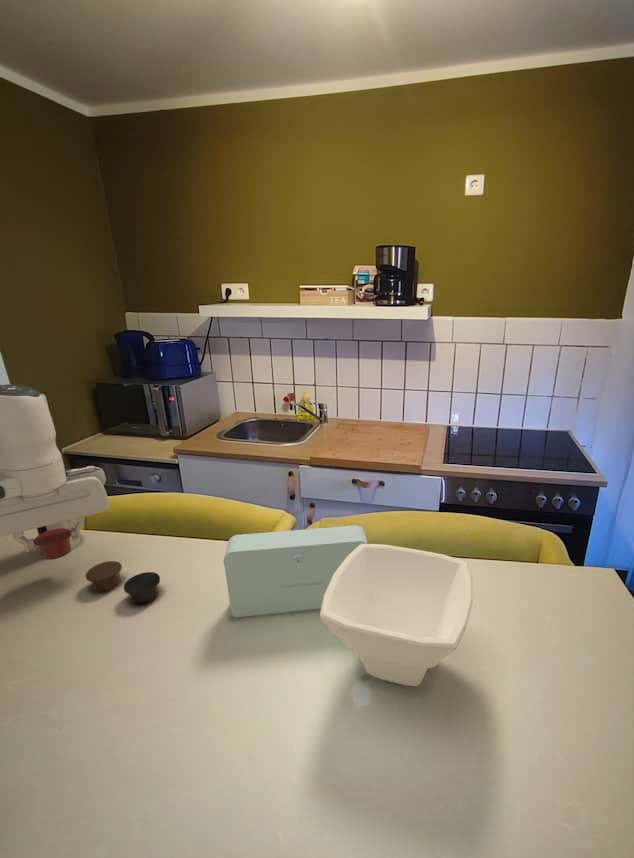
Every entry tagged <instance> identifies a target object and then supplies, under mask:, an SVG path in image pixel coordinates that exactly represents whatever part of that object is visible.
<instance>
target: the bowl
mask: <svg viewBox="0 0 634 858" xmlns="http://www.w3.org/2000/svg"><path fill="white" fill-rule="evenodd" d="M473 595H474V593H473V577H472V574H471V569H470V567H469V564H468V562H467V561H465V560H462V559H459V558H456V557H453V556H449V555H447V554H443V553H437V552H432V551H426V550H421V549H417V548H416V549H415V548H410V547H409V548H408V547H402V546H396V545H390V544H384V543H383V544H382V543H381V544H380V543H377V544H376V543H368V544H360V545H359V546H358V547H357V548H356V549H355V550H354V551H352V552H351V553H350V554H349V555H348V556H347V557H346V558H345V560H344V561H343V562H342V564H341V565H340V566H339V568H338V569H337V570H336V572H335V573H334V574H333V577H332V579H331V581H330V583H329V585H328V588H327V590H326V592H325V594H324V597H323V602H322V607H321V609H320V613H319V619H320V620H321V621H322V622H323V623H324V624H325V625H326V626H327V628H328V629H330V631H332V632H333V633H334V634H335V636H336V637H337V638H339V640H340V641H341V642H342V643H343V644H344V645H345V646H346V647H347V648H349V649H351V650H353V651H354V652H357V653H358V656H359V659H360V661H361V663H362V666H363V668H364V670H365V673H366V674H368V675H370V676H372V677H374V678H376V679H379V680H383V681H387V682H390V683H394V684H398V685H402V686H405V687H408V686H409V687H418V686H420V684H421V683H422V681H423V679H424V678H425V676H426V673H427V671H428V669H432V668H435V667H436V666H437V665H438V664H439V663H440V662H442V661H443V660H444V659H445V658H447V657H448V656H449V655H450V654H452V653H453V652H454V651H455V650H456V649H457V648H458V646H459V644H460V642H461V640H462V637H463V636H464V634H465V632H466V631H467V627H468V624H469V619H470V615H471V612H472V607H473V602H474V596H473Z"/></svg>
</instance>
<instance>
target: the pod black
mask: <svg viewBox="0 0 634 858" xmlns="http://www.w3.org/2000/svg"><path fill="white" fill-rule="evenodd" d="M160 582H161V577H160V575H159V573H156V572H153V571H147V572H146V571H145V572H141V573H138V574H136V575H134V576H131V577H130V578H129V579H128V580H127V581H125V582H124V584H123V590H124V592H125V593H126V594H128V595H129V598H130V602H131V604H132V605H134V606H143V605H148V604H150V603H153V602H154V601H156V599H157V598H158V597H159V595H160V589H159V584H160Z"/></svg>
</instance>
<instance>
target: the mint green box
mask: <svg viewBox="0 0 634 858" xmlns="http://www.w3.org/2000/svg"><path fill="white" fill-rule="evenodd" d="M360 544H369V543H368V539H367V536H366V533H365V529H364V528H363V527H362V526H360V525H357V524H355V525H343V526H331V527H318V528H306V529H304V528H303V529H296V530H295V529H292V530H280V531H271V532H270V531H268V532H260V533H259V532H255V533H243V534H235V535H233V536H231V537H230V538H229V540H228V543H227V546H226V550H225V554H224V558H223V566H224V573H225V579H226V586H227V594H228V599H229V601H228V602H229V608H230V613H231V615H232V617H233V618H244V617H253V616H263V615H272V614H281V613H282V614H283V613H291V612H292V613H293V612H300V611H308V610H321V607H322V602H323V597H324V594H325V592H326V590H327V588H328V585H329V583H330V581H331V579H332V577H333V574H334V573H335V572H336V570H337V569H338V568H339V566H340V565H341V564H342V562H343V561H344V560H345V558H346V557H347V556H348V555H349V554H350V553H351V552H352V551H354V550H355V549H356V548H357V547H358V546H359V545H360Z"/></svg>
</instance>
